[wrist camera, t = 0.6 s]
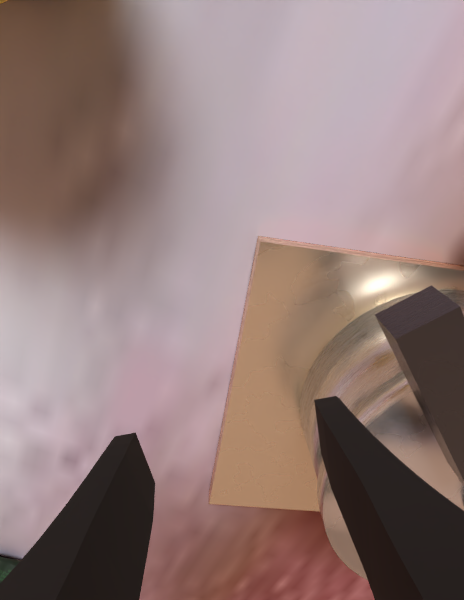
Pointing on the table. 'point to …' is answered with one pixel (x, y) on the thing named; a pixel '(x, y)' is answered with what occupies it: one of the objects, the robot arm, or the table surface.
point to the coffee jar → (7, 566)
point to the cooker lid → (413, 406)
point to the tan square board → (307, 361)
